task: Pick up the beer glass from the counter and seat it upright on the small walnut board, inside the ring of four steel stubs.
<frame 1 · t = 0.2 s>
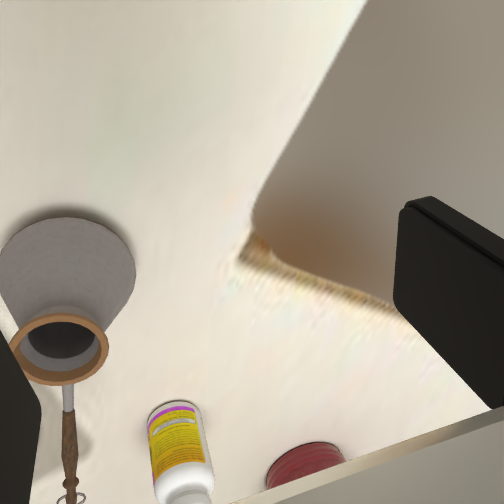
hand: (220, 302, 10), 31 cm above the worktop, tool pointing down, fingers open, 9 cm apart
coffee pot: (74, 302, 44), on the worktop
supplement bottle: (173, 416, 56), on the worktop
canister: (303, 467, 70), on the worktop
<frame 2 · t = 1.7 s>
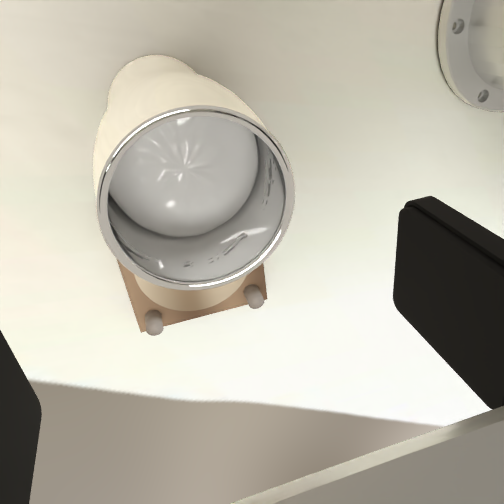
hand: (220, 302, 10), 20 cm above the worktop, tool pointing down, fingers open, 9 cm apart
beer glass: (159, 107, 27), on the worktop
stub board: (191, 253, 32), on the worktop
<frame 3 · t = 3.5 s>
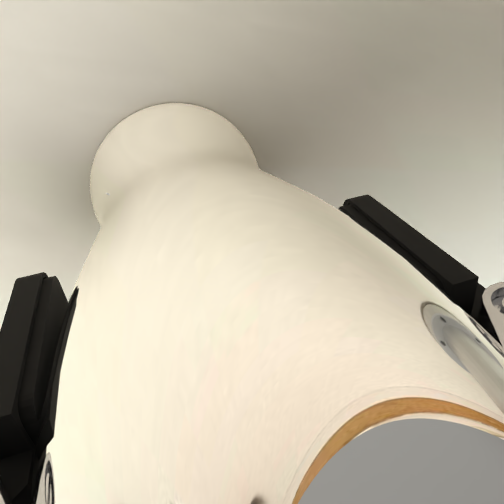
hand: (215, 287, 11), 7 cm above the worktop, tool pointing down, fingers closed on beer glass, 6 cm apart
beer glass: (176, 185, 16), on the worktop, touching gripper
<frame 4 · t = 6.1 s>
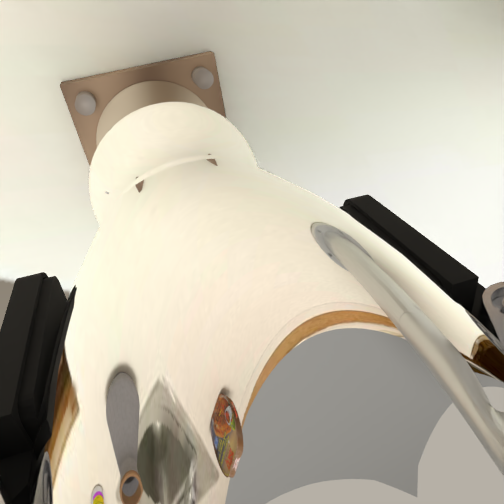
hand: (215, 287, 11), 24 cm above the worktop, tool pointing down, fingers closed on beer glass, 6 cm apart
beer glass: (175, 184, 16), point 17 cm above the worktop, touching gripper
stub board: (157, 139, 32), on the worktop
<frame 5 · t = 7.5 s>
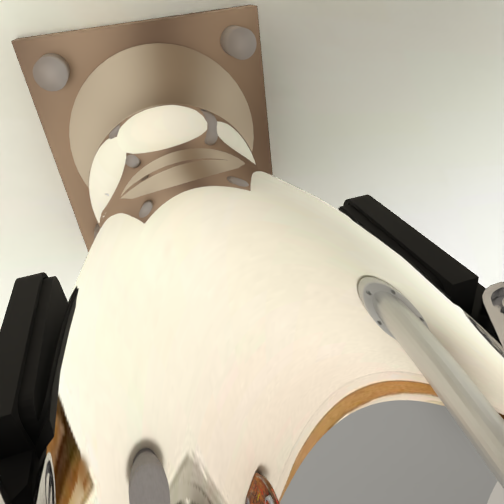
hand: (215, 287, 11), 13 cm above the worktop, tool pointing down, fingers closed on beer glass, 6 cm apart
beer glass: (175, 185, 16), point 6 cm above the worktop, touching gripper
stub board: (163, 134, 22), on the worktop
when the fingers open (10 cm above the worktop, at t = 8.7 s): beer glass drops 1 cm, resting on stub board.
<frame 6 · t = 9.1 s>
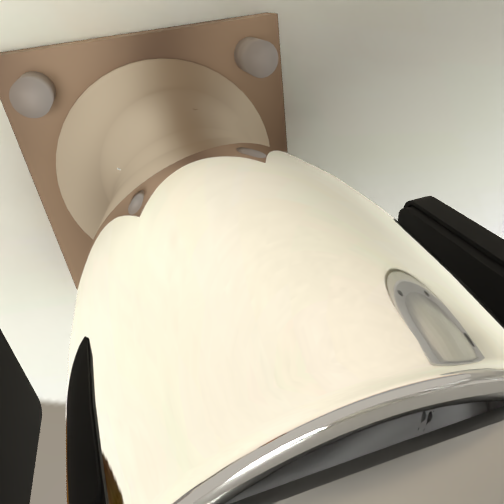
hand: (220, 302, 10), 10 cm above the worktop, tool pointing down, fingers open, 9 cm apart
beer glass: (179, 166, 18), point 1 cm above the worktop, touching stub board
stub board: (166, 162, 19), on the worktop
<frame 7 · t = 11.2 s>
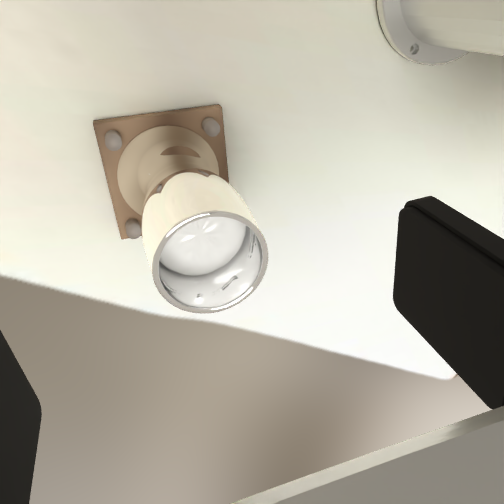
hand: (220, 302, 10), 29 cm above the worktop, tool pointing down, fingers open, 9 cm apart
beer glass: (174, 173, 37), point 1 cm above the worktop, touching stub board
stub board: (167, 171, 38), on the worktop
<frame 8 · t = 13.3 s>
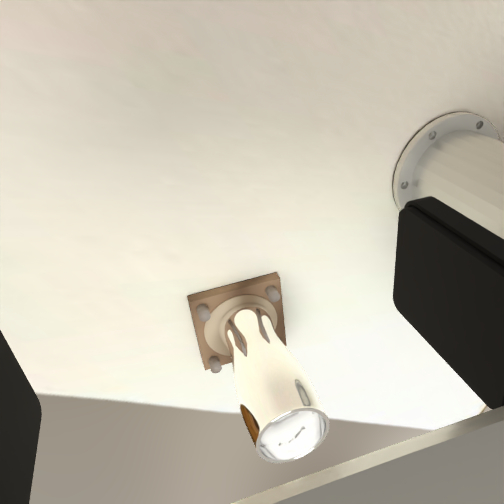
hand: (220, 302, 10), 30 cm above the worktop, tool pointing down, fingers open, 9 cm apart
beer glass: (244, 323, 49), point 1 cm above the worktop, touching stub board
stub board: (238, 319, 50), on the worktop
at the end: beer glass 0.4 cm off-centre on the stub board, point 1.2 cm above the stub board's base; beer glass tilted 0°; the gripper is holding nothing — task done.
